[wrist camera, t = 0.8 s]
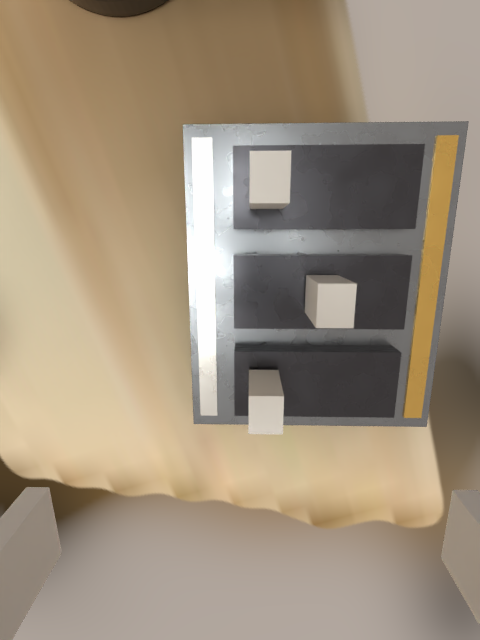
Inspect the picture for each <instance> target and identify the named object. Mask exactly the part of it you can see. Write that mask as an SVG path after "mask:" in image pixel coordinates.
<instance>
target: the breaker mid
mask: <svg viewBox="0 0 480 640" xmlns="http://www.w3.org/2000/svg"><path fill="white" fill-rule="evenodd" d="M356 289H357V284H356V283H354V282H352V281H350V280H348V279H346V278H343V277H341V276H339V275H306V292H305V313H306V315H307V316H308V318H309V319H310V320H311V322H312V323H313V325H314V326H315V328H354V315H355V302H356Z"/></svg>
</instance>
